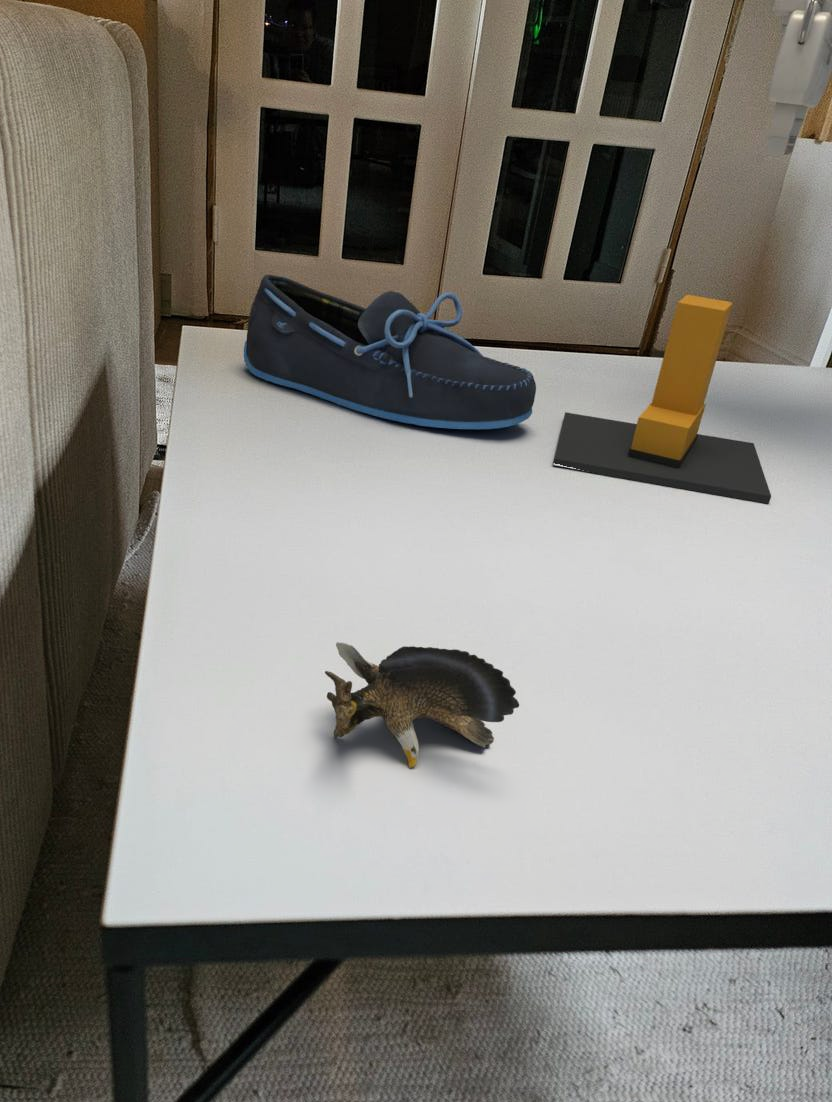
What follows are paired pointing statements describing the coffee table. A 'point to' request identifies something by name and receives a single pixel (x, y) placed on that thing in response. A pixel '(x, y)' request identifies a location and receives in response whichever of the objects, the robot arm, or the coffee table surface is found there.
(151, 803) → the coffee table surface
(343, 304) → the moccasin
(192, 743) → the coffee table surface
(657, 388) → the boot
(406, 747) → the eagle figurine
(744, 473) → the shoe mat
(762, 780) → the coffee table surface
